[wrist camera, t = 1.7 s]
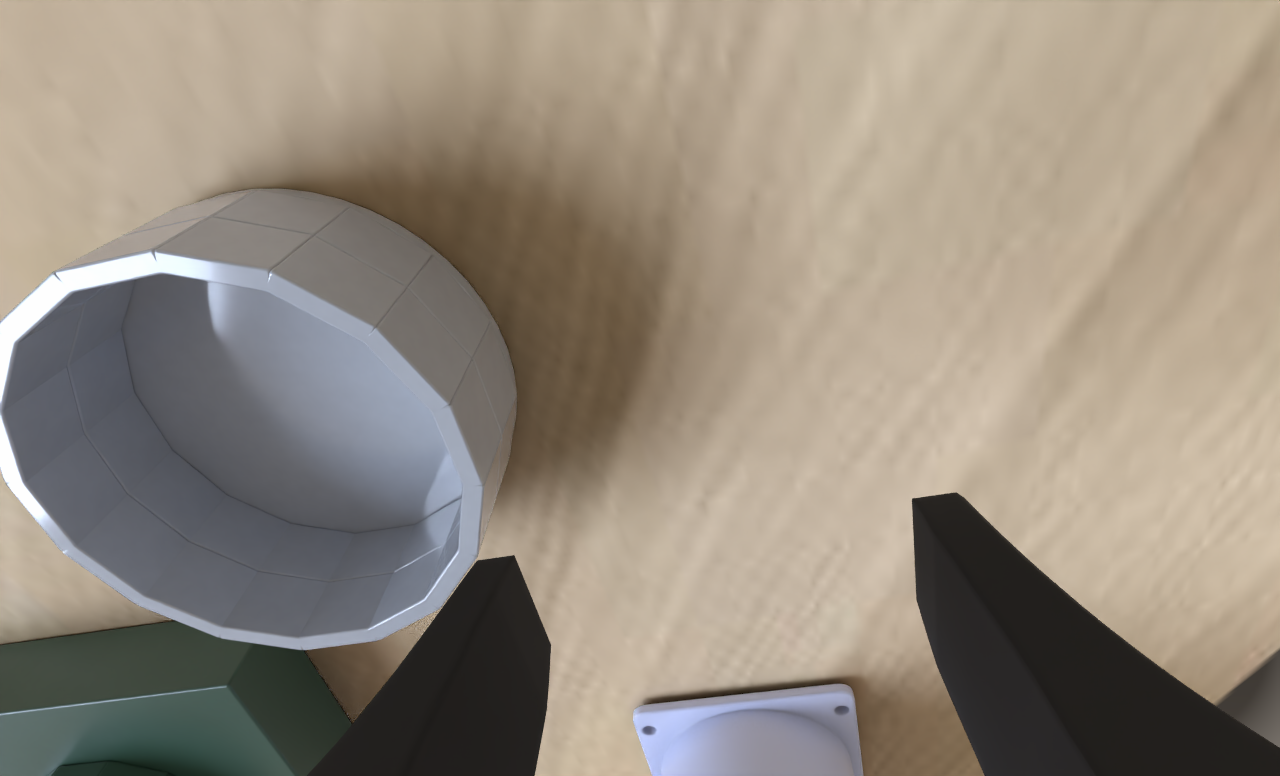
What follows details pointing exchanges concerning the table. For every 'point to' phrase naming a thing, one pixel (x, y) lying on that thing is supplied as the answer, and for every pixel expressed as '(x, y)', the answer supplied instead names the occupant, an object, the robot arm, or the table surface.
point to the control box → (162, 706)
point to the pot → (261, 418)
